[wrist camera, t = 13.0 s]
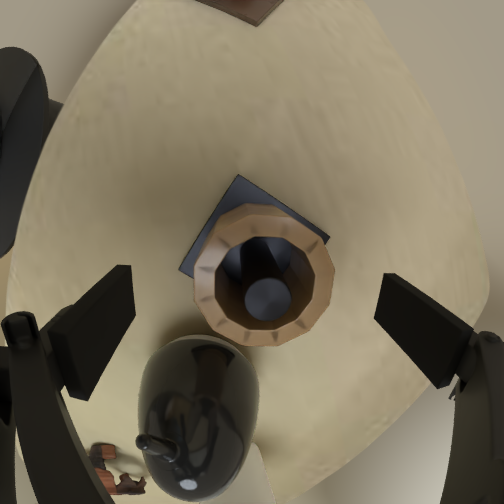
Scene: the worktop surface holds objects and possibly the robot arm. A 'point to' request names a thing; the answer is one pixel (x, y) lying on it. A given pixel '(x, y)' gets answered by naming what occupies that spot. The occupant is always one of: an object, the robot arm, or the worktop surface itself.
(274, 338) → the maple ring
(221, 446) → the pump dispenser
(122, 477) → the pottery mug
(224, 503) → the foam cup
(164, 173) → the worktop surface
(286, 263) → the square base peg
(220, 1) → the low peg stand
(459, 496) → the robot arm
